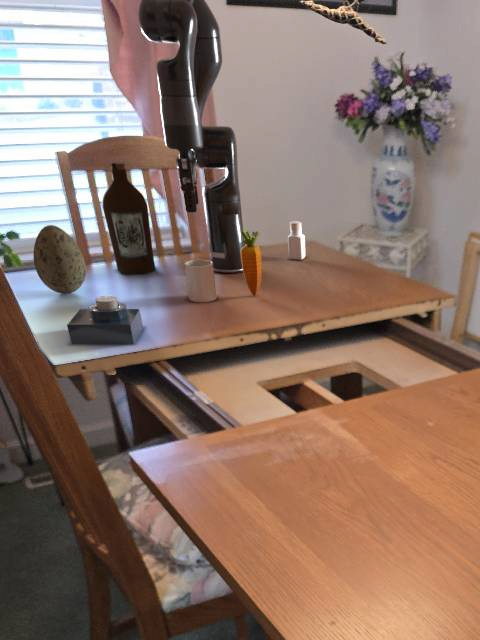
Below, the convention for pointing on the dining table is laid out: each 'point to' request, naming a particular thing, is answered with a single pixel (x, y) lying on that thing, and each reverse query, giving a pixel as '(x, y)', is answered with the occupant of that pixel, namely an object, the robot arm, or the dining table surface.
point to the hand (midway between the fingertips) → (192, 208)
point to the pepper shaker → (296, 241)
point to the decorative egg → (58, 260)
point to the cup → (200, 280)
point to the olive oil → (128, 224)
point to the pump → (106, 302)
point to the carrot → (251, 262)
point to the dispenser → (105, 326)
